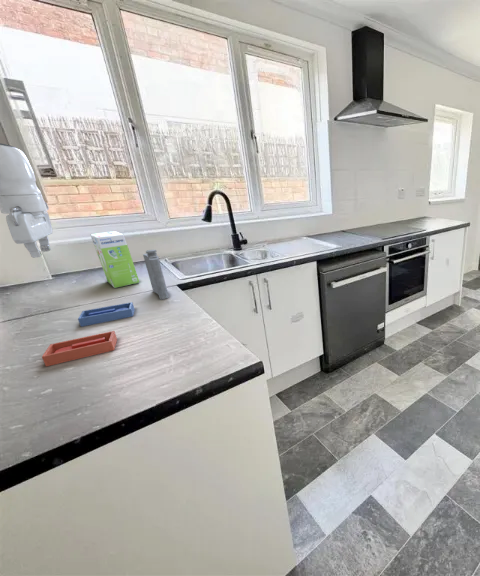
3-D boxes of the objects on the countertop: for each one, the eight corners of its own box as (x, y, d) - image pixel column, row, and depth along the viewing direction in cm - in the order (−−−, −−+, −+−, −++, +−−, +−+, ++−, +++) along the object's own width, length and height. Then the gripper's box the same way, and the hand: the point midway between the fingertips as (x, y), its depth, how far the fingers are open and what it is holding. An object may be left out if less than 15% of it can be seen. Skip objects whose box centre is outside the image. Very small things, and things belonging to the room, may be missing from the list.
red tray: (46, 368, 83) (41, 356, 81) (54, 354, 89) (50, 344, 88) (114, 351, 90) (111, 341, 89) (117, 340, 96) (114, 330, 95)
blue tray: (81, 328, 105) (77, 318, 104) (85, 319, 111) (82, 310, 110) (133, 317, 113) (130, 308, 111) (134, 310, 119) (132, 302, 118)
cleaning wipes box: (105, 281, 154) (89, 233, 146) (131, 276, 162) (117, 230, 154) (113, 289, 143) (96, 237, 135) (140, 283, 151) (125, 234, 143)
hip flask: (152, 292, 139) (140, 248, 132) (163, 289, 141) (152, 246, 135) (160, 301, 128) (148, 254, 121) (172, 298, 131) (160, 252, 124)
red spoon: (108, 343, 94) (105, 335, 93) (106, 349, 90) (103, 341, 89) (58, 355, 88) (55, 346, 87) (55, 361, 85) (51, 352, 84)
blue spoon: (90, 322, 108) (87, 315, 107) (92, 319, 111) (89, 311, 110) (129, 315, 113) (127, 308, 112) (130, 311, 117) (128, 305, 116)
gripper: (26, 207, 80) (47, 259, 85) (48, 203, 96) (64, 247, 100) (-10, 209, 77) (13, 262, 81) (19, 204, 93) (37, 249, 97)
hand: (42, 254), depth 91 cm, fingers open, 8 cm apart
